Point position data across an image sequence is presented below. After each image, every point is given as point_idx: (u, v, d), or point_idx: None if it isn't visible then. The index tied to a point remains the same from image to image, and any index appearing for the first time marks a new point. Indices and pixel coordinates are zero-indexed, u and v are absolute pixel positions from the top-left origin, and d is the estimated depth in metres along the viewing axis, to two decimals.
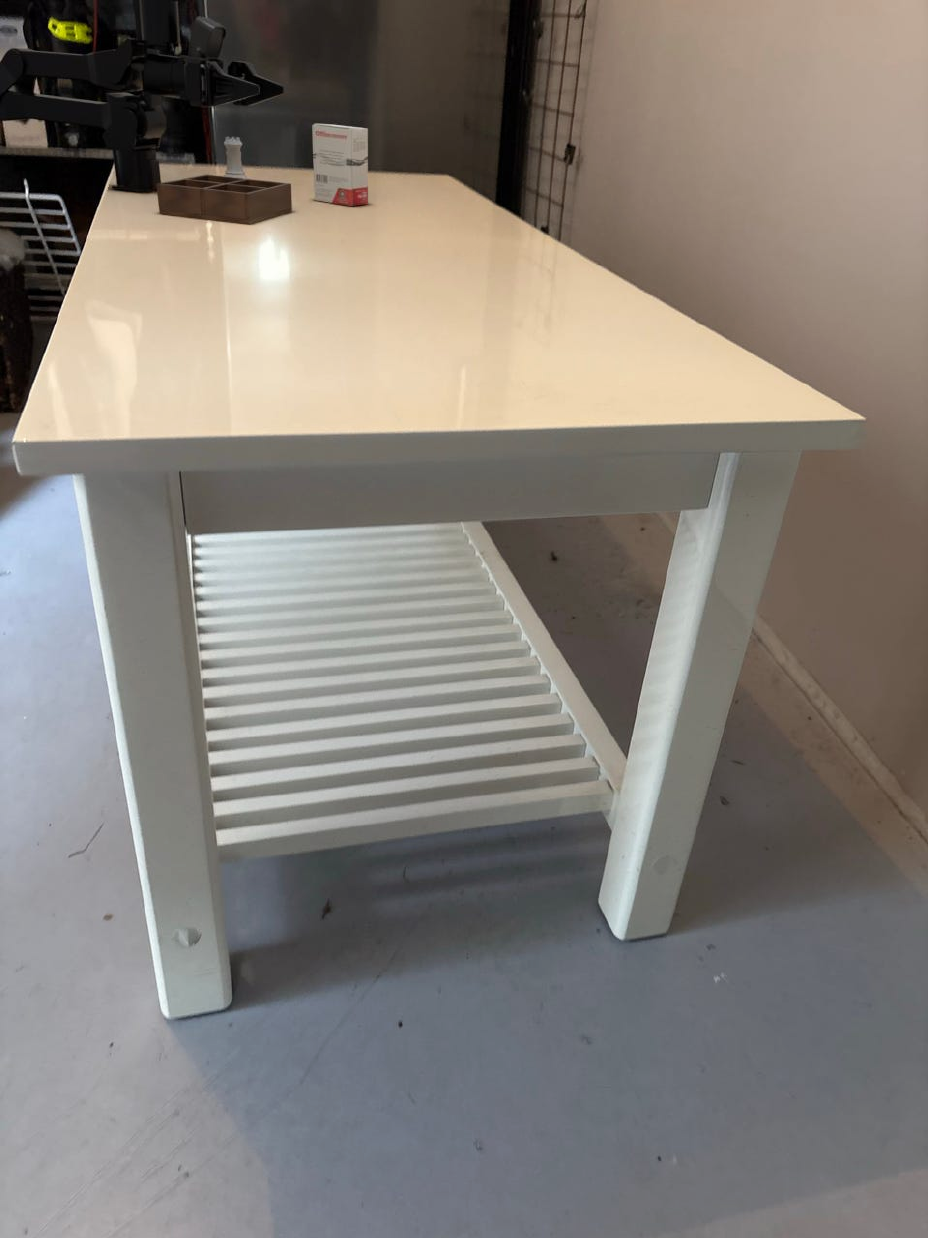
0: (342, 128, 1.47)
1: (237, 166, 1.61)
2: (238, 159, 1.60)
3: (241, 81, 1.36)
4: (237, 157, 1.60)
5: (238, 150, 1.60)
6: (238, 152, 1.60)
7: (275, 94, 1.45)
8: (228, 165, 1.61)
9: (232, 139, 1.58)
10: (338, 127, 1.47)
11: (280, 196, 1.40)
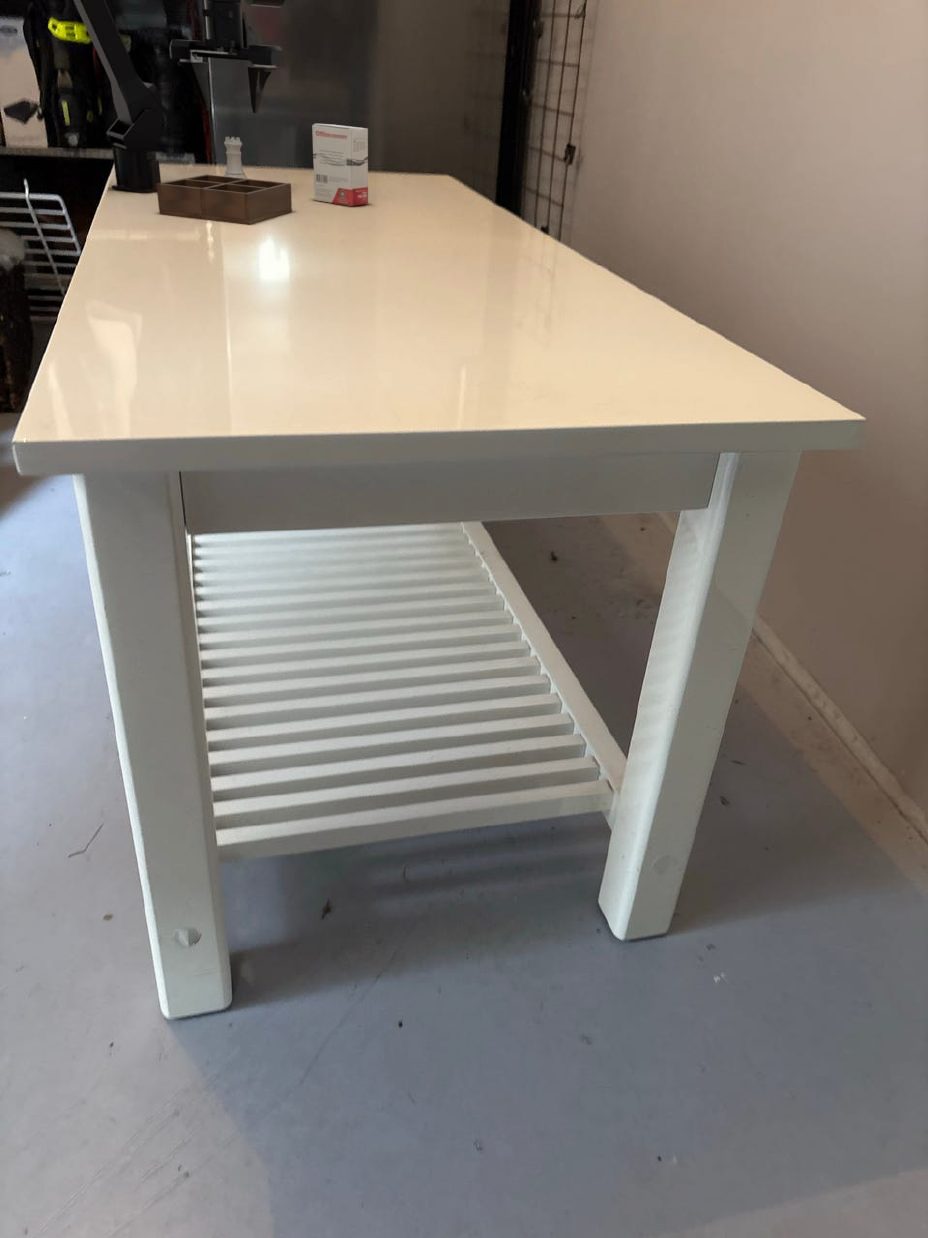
0: (342, 128, 1.47)
1: (237, 166, 1.61)
2: (238, 159, 1.60)
3: (261, 97, 1.55)
4: (237, 157, 1.60)
5: (238, 150, 1.60)
6: (238, 152, 1.60)
7: (205, 100, 1.56)
8: (228, 165, 1.61)
9: (232, 139, 1.58)
10: (338, 127, 1.47)
11: (280, 196, 1.40)
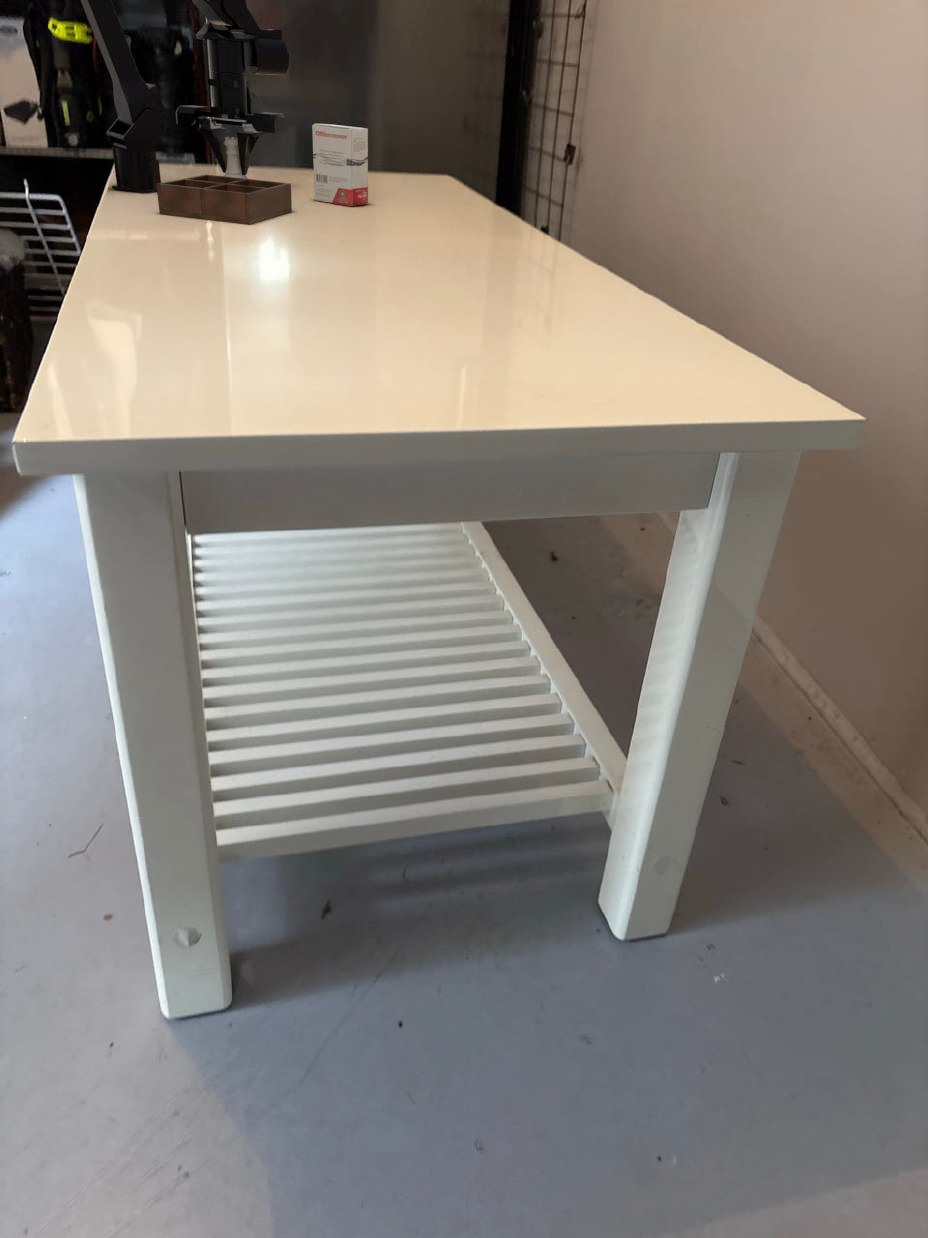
0: (342, 128, 1.47)
1: (237, 166, 1.61)
2: (238, 159, 1.60)
3: (250, 159, 1.61)
4: (237, 157, 1.60)
5: (238, 150, 1.60)
6: (238, 152, 1.60)
7: (223, 164, 1.61)
8: (228, 165, 1.61)
9: (232, 139, 1.58)
10: (338, 127, 1.47)
11: (280, 196, 1.40)
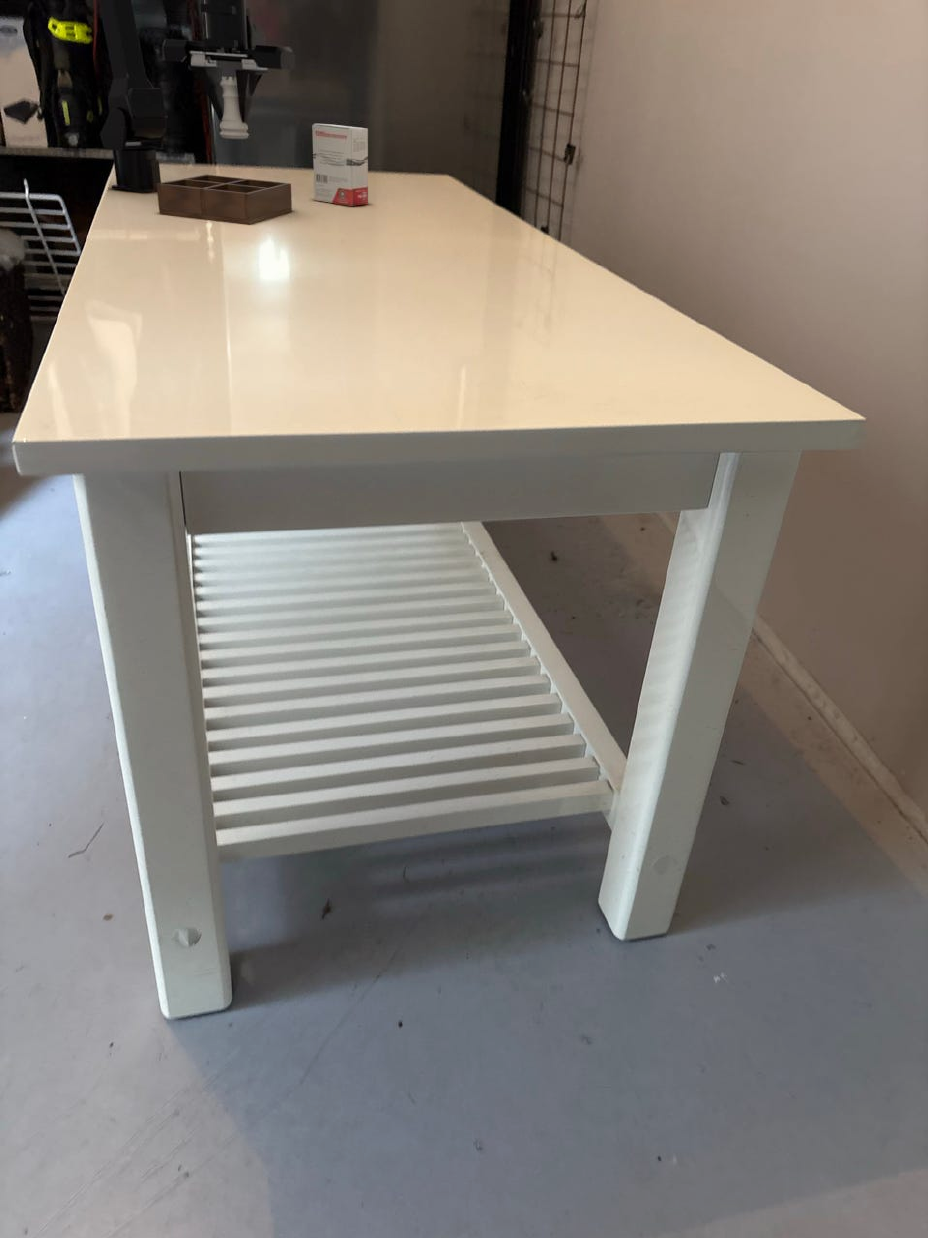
0: (342, 128, 1.47)
1: (236, 111, 1.36)
2: (237, 103, 1.35)
3: (251, 104, 1.36)
4: (236, 101, 1.35)
5: (237, 92, 1.35)
6: (237, 95, 1.35)
7: (219, 110, 1.36)
8: (225, 110, 1.36)
9: (230, 78, 1.33)
10: (338, 127, 1.47)
11: (280, 196, 1.40)
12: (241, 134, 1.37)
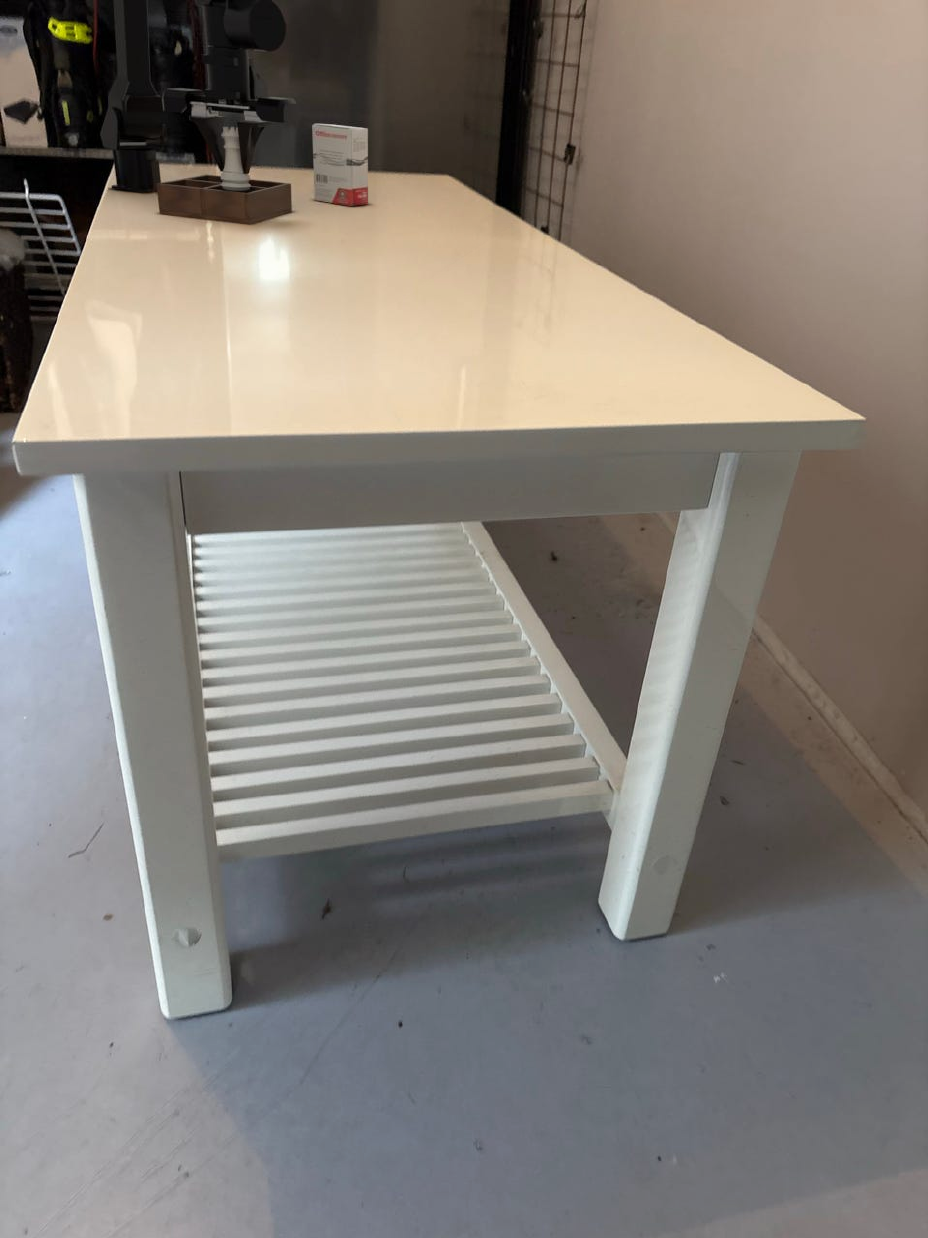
0: (342, 128, 1.47)
1: (238, 163, 1.31)
2: (238, 154, 1.31)
3: (253, 155, 1.32)
4: (237, 152, 1.31)
5: None
6: (239, 146, 1.30)
7: (221, 161, 1.32)
8: (226, 162, 1.31)
9: (231, 130, 1.29)
10: (338, 127, 1.47)
11: (280, 196, 1.40)
12: (242, 185, 1.32)
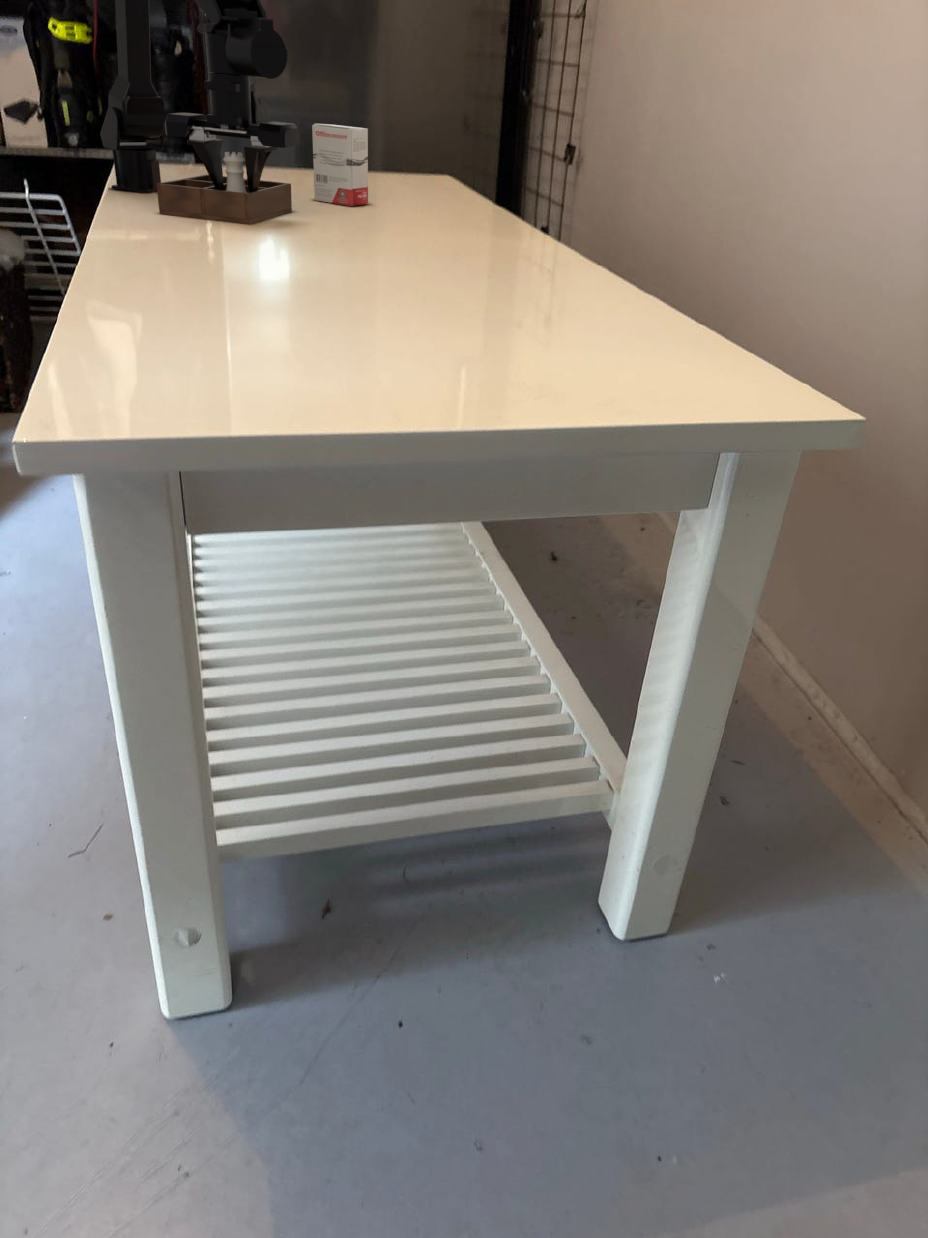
0: (342, 128, 1.47)
1: (239, 187, 1.33)
2: (240, 178, 1.33)
3: (259, 179, 1.33)
4: (239, 176, 1.32)
5: (240, 168, 1.32)
6: (240, 170, 1.32)
7: (218, 184, 1.33)
8: (228, 186, 1.33)
9: (233, 155, 1.31)
10: (338, 127, 1.47)
11: (280, 196, 1.40)
12: None
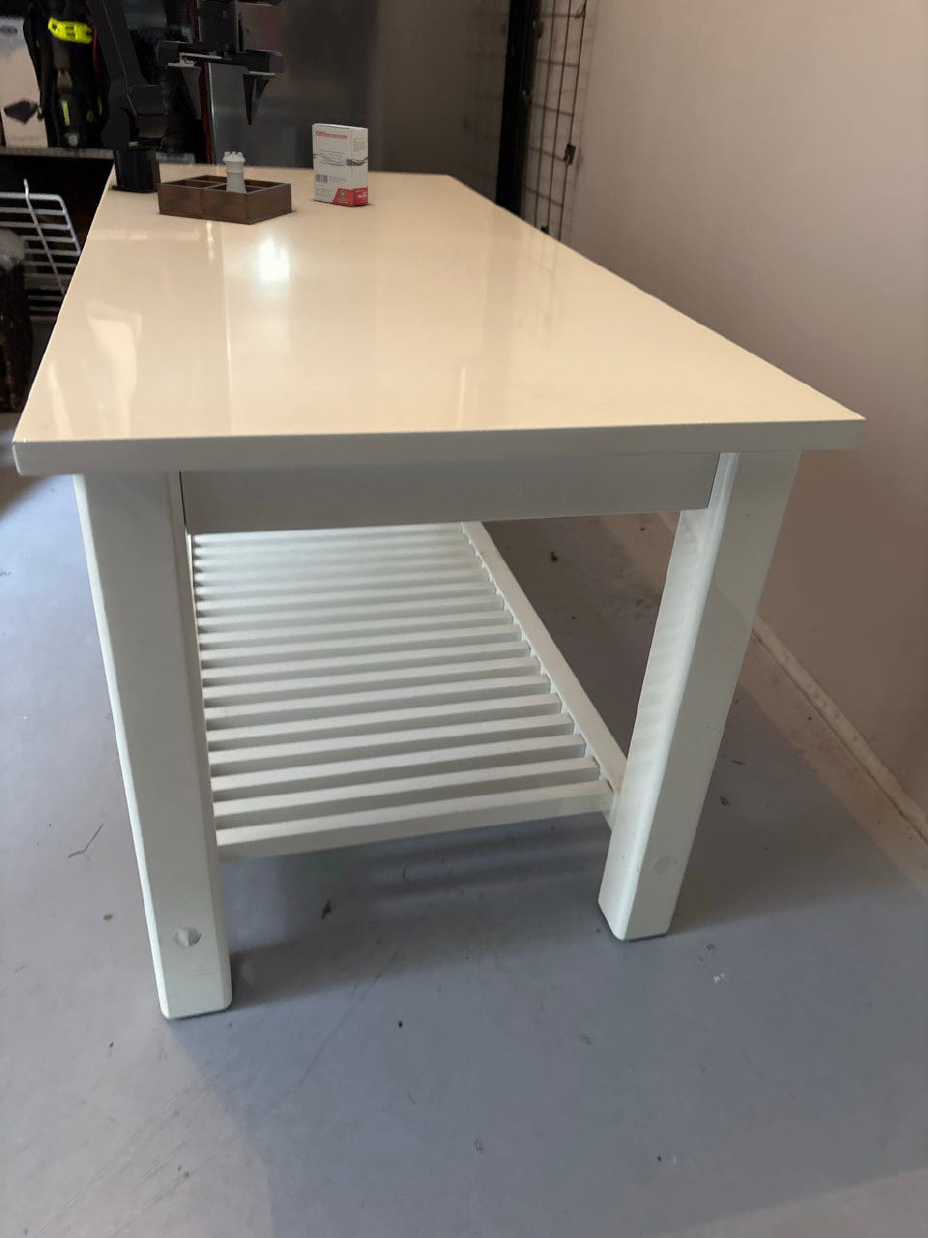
0: (342, 128, 1.47)
1: (239, 187, 1.33)
2: (240, 178, 1.33)
3: (258, 107, 1.39)
4: (239, 176, 1.32)
5: (240, 168, 1.32)
6: (240, 170, 1.32)
7: (195, 109, 1.40)
8: (228, 186, 1.33)
9: (233, 155, 1.31)
10: (338, 127, 1.47)
11: (280, 196, 1.40)
12: None
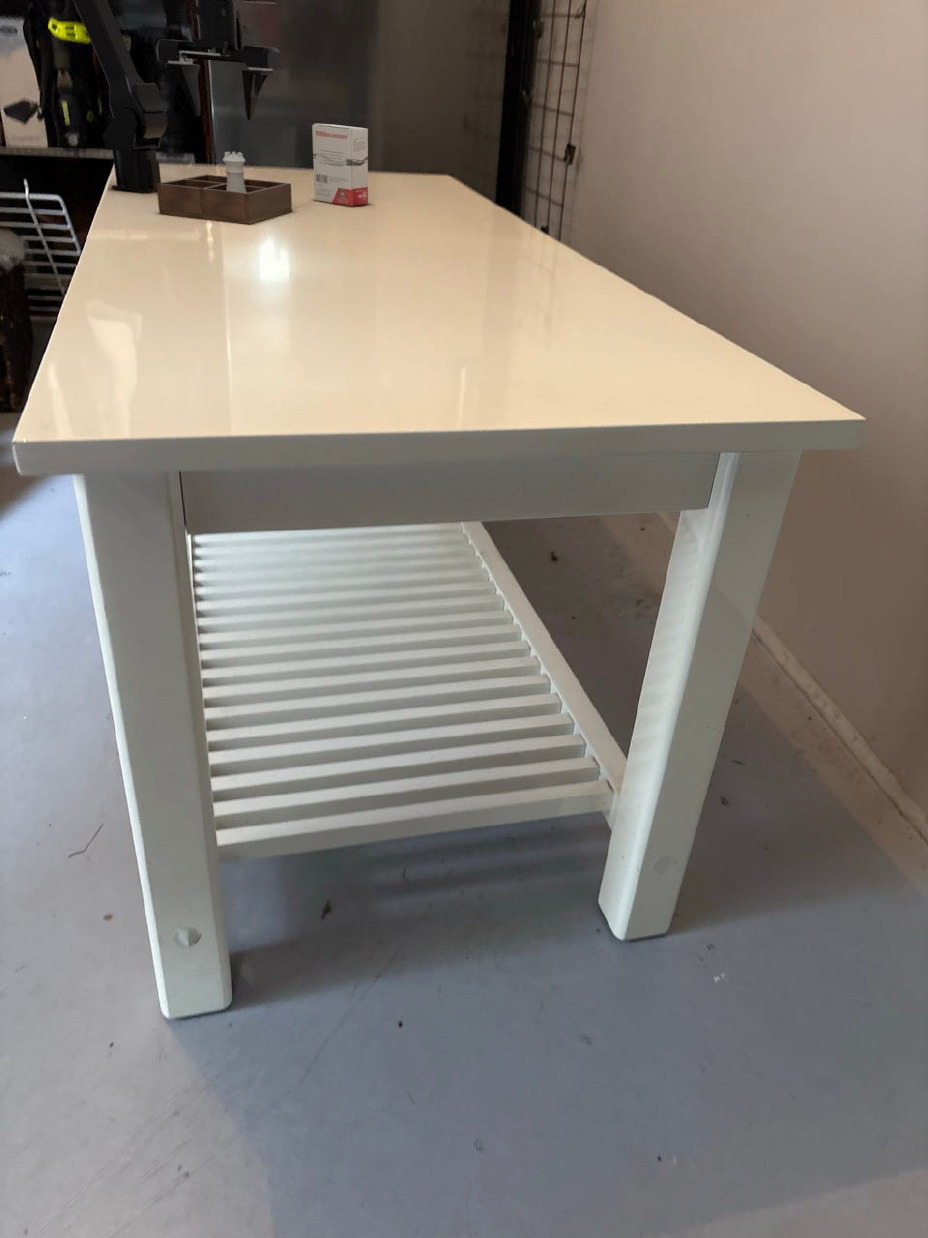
0: (342, 128, 1.47)
1: (239, 187, 1.33)
2: (240, 178, 1.33)
3: (256, 103, 1.43)
4: (239, 176, 1.32)
5: (240, 168, 1.32)
6: (240, 170, 1.32)
7: (195, 106, 1.44)
8: (228, 186, 1.33)
9: (233, 155, 1.31)
10: (338, 127, 1.47)
11: (280, 196, 1.40)
12: None
